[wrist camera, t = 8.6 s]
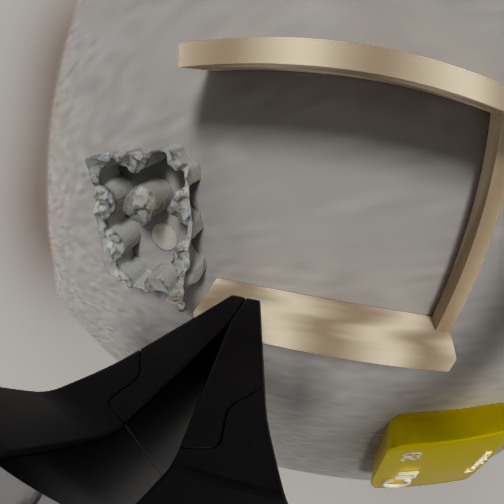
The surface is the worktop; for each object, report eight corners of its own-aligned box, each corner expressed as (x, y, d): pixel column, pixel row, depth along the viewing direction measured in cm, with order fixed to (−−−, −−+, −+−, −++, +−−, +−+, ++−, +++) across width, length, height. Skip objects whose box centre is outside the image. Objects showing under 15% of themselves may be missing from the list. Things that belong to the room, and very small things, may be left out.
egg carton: (210, 285, 23) (187, 320, 20) (131, 264, 25) (102, 291, 21) (211, 143, 17) (177, 158, 14) (116, 139, 19) (76, 153, 16)
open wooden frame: (508, 99, 10) (545, 105, 7) (439, 330, 18) (448, 371, 15) (214, 51, 14) (178, 43, 11) (217, 290, 22) (195, 325, 19)
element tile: (467, 454, 26) (468, 482, 22) (371, 462, 31) (367, 491, 27) (512, 397, 20) (520, 432, 16) (391, 410, 25) (389, 451, 21)
